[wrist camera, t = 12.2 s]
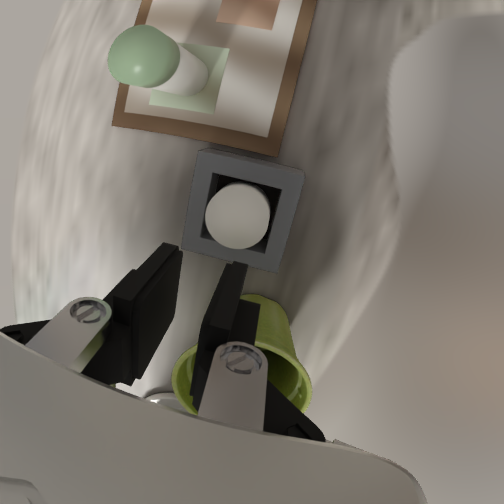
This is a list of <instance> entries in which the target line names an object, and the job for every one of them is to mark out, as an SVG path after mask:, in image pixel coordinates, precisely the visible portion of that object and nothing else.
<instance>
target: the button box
mask: <svg viewBox="0 0 504 504" xmlns="http://www.w3.org/2000/svg"><path fill="white" fill-rule="evenodd" d="M219 174H222V175H226V176H230V177H234V178H239V179H243V180H247V181H251V182H255V183H259V184H263V185H267V186H271V187H275V188H279V189H281V190H280V194H279V198H278V202H277V205H276V209H275V213H274V217H273V220H272V224H271V228H270V232H269V235H268V239H267V240H266V239H261V240H260V241H259V242H258V243H256V244H255V245H253V246H251V247H248V248H244V249H232V248H228V247H225V246H223V245H221V244H220V243H218V242H217V241H216V240H215V239H214V238H213V237H212V236H211V234H210V233H209V231H208V229H207V226H206V221H205V213H206V208H207V206H208V204H209V202H210V200H211V199H212V198H213V197H214V196H215V193H216V188H217V183H218V178H219ZM304 179H305V174H304V172H303V170H299V169H295V168H291V167H288V166H284V165H280V164H276V163H272V162H268V161H264V160H260V159H256V158H252V157H248V156H243V155H239V154H235V153H230V152H226V151H221V150H216V149H211V148H206V149H203V150H199V151H198V155H197V160H196V165H195V170H194V175H193V181H192V186H191V192H190V197H189V203H188V209H187V215H186V221H185V227H184V233H183V239H182V246H181V249H184V250H188V251H192V252H195V253H199V254H203V255H207V256H211V257H215V258H218V259H222V260H226V261H230V262H233V261H237V262H241V263H245V264H248V266H249V267H253V268H257V269H261V270H265V271H269V272H273V273H278V270H279V266H280V263H281V260H282V256H283V253H284V249H285V246H286V243H287V239H288V236H289V232H290V229H291V225H292V222H293V218H294V215H295V211H296V208H297V204H298V201H299V197H300V194H301V190H302V187H303V183H304Z"/></svg>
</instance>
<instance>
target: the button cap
mask: <svg viewBox="0 0 504 504" xmlns="http://www.w3.org/2000/svg"><path fill="white" fill-rule="evenodd" d="M270 212H271V208H270V202H269V199H268V197H267V195H266V194H265V192H264V191H263V190H262V189H261V188H260V187H258V186H257V185H255V184H253V183H250V182H246V181H236V182H232V183H229V184H227V185H226V186H224V187H223V188H222V189H221V190H220V191H219V192H218V193H217V194H216V195H215V196H214V197H213V198H212V199H211V200H210V202H209V204H208V206H207V208H206V213H205V221H206V226H207V229H208V231H209V233H210V234H211V236H212V237H213V238H214V239H215V240H216V241H217V242H218V243H220V244H221V245H223V246H225V247H228V248H232V249H244V248H248V247H251V246H253V245H255V244H256V243H258V242H259V241H260V240H261V239H262V238H263V236H264V235H265V233H266V231H267V228H268V223H269V218H270Z"/></svg>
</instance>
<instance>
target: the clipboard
mask: <svg viewBox="0 0 504 504" xmlns="http://www.w3.org/2000/svg"><path fill="white" fill-rule="evenodd" d="M316 3H317V0H142V2H141V5H140V9H139V12H138V15H137V18H136V21H135V25H134V26H137V25H150V26H153V27H155V28H157V29H158V30H160V31H161V32H163V33H164V34H166V35H167V36H169V37H170V38H172V39H173V40H174V41H175V42H176V43H177V44H179V45H180V46H182V47H183V48H184V49H186V50H187V51H189V52H190V53H192V54H193V55H194V56H196V57H197V58H198V59H200V60H201V61H202V62H204V64H205V65H206V67H207V69H208V81H207V83H206V85H205V87H204V88H203V89H202V90H201V91H200V92H198V93H197V94H195V95H192V96H180V95H176V94H172V93H168V92H164V91H160V90H156V89H152V88H143V87H138V86H133V85H128V84H124V83H121V82H120V84H119V88H118V93H117V98H116V104H115V109H114V115H113V120H112V126H117V127H124V128H131V129H138V130H145V131H151V132H158V133H164V134H170V135H175V136H181V137H186V138H192V139H197V140H202V141H207V142H212V143H217V144H222V145H226V146H231V147H235V148H240V149H244V150H248V151H253V152H257V153H261V154H265V155H269V156H273V157H278V153H279V149H280V145H281V141H282V137H283V133H284V130H285V126H286V122H287V118H288V114H289V110H290V106H291V102H292V98H293V94H294V90H295V86H296V82H297V78H298V74H299V70H300V66H301V62H302V58H303V55H304V51H305V47H306V43H307V39H308V35H309V31H310V27H311V23H312V19H313V15H314V11H315V7H316Z"/></svg>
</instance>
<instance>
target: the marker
mask: <svg viewBox="0 0 504 504" xmlns="http://www.w3.org/2000/svg"><path fill="white" fill-rule="evenodd" d="M108 67H109V70H110V73H111V75H112V76H113V77H114V78H115V79H116V80H117V81H119V82H121V83H124V84H128V85H133V86H138V87H143V88H152V89H156V90H160V91H164V92H168V93H172V94H176V95H180V96H192V95H195V94H197V93H198V92H200V91H201V90H202V89H203V88H204V87H205V85H206V83H207V81H208V69H207V67H206V65H205V64H204V62H202V61H201V60H200V59H198V58H197V57H196V56H194V55H193V54H192V53H190V52H189V51H187V50H186V49H184V48H183V47H182V46H180V45H179V44H177V43H176V42H175V41H174V40H173V39H172V38H170V37H169V36H167V35H166V34H164V33H163V32H161V31H160V30H158V29H157V28H155V27H153V26H150V25H137V26H133V27H131V28H129V29H127V30H125V31H124V32H123V33H121V34H120V35H119V36H118V37H117V38H116V40H115V41H114V42H113V44H112V46H111V48H110V51H109V55H108Z"/></svg>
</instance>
